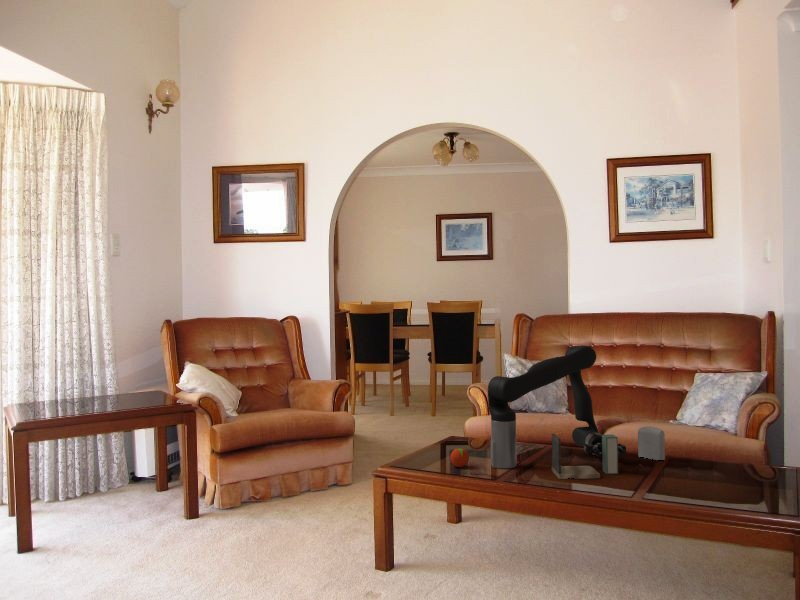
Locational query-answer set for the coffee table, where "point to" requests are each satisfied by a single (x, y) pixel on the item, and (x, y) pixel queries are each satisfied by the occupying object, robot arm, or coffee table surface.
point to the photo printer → (651, 443)
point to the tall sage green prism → (610, 454)
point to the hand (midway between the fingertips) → (610, 453)
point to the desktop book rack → (569, 471)
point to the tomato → (459, 457)
